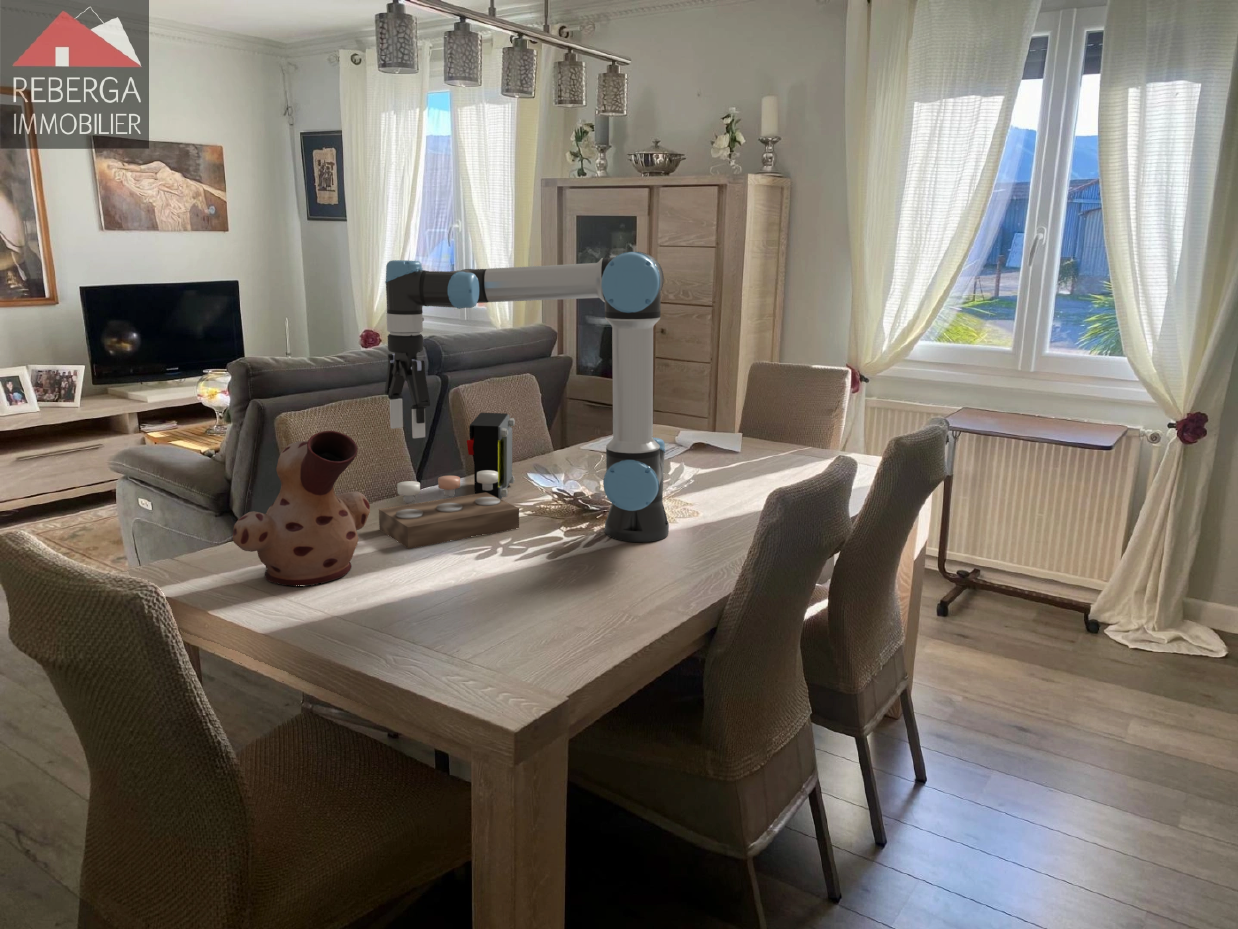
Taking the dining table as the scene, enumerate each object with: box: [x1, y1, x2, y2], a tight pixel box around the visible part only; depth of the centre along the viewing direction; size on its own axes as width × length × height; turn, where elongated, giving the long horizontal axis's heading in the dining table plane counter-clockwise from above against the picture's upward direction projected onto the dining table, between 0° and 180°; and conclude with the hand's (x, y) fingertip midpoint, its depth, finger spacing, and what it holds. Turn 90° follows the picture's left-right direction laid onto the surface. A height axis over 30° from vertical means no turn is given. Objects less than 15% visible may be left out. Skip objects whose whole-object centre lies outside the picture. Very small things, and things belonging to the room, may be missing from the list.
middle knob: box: [437, 475, 461, 497], centre depth 214 cm, size 5×5×4 cm
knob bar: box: [378, 492, 520, 550], centre depth 216 cm, size 16×28×6 cm, turn 127°
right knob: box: [477, 470, 498, 491], centre depth 220 cm, size 5×5×4 cm
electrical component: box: [466, 412, 516, 500], centre depth 246 cm, size 18×10×20 cm, turn 179°
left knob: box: [396, 480, 421, 504], centre depth 208 cm, size 5×5×4 cm
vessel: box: [232, 430, 371, 587], centre depth 182 cm, size 29×22×30 cm
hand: (407, 432), depth 205 cm, fingers open, 11 cm apart
